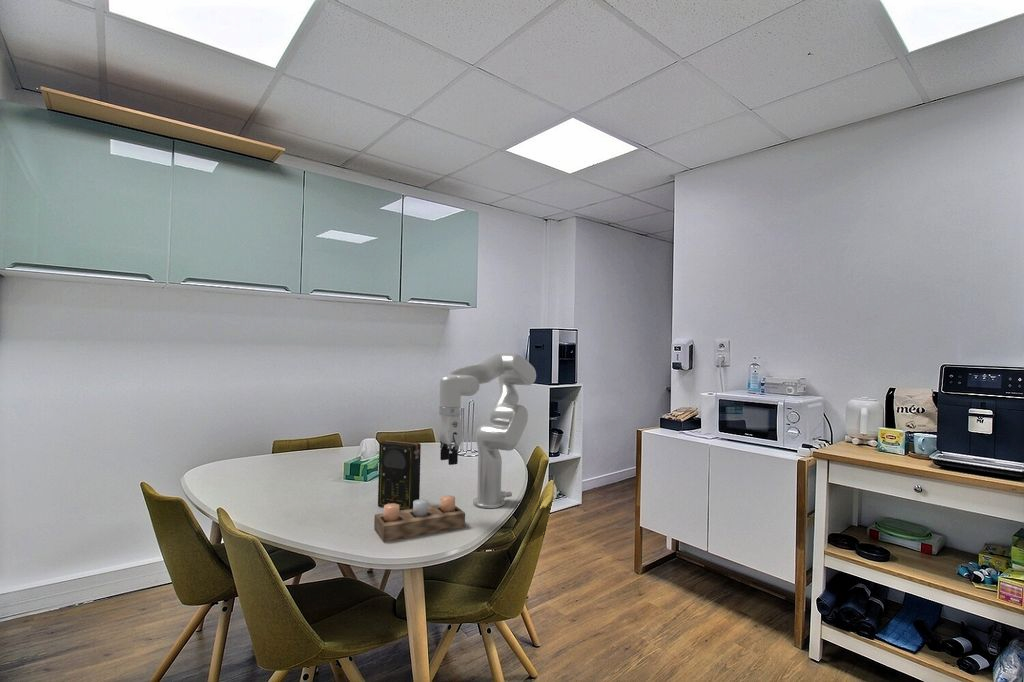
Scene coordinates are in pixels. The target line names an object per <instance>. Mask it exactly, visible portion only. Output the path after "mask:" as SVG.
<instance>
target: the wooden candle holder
mask: <svg viewBox="0 0 1024 682" xmlns="http://www.w3.org/2000/svg"><path fill="white" fill-rule="evenodd" d="M383 519H384V512H383V513H377V514H374V521H373V522H374V527H373V530H374V531H375V532H376V535H378V537H379V538H380V540H381V541H382V542H383V543H388V542H393V541H398V540H403V539H409V538H415V537H420V536H425V535H431V534H435V533H436V534H437V533H442V532H448V531H452V530H458V529H463V528H466V512H465V511H463V510H462V509H461V508H460V507H458V506H457V505H455V511H454V512H448V513H442V512H441V504H436V505H428V516H423V517H417V518H414V517H413V509H408V510H399V521H393V522H386V523H384V521H383Z"/></svg>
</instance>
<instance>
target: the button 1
mask: <svg viewBox="0 0 1024 682" xmlns="http://www.w3.org/2000/svg"><path fill="white" fill-rule="evenodd" d="M399 511H400V510H399V504H395V503H392V504H386V505H384V507H383V513H384V519H383V521H384V523H386V522H393V521H399Z"/></svg>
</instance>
